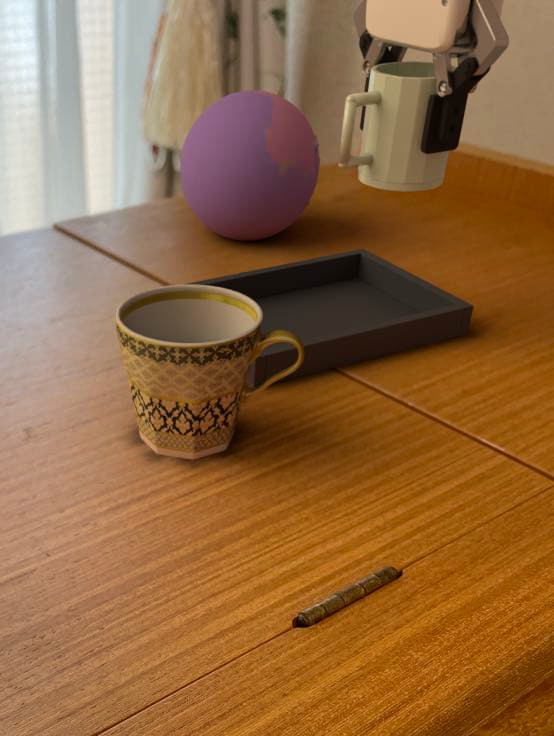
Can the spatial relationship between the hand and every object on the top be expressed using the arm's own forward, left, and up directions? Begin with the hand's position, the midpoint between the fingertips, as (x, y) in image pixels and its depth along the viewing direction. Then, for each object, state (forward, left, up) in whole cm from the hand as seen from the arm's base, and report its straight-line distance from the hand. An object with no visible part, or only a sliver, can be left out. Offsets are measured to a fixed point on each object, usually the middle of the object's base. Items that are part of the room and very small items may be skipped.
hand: (407, 137), depth 69 cm
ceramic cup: (+23, +10, -17) cm, 30 cm away
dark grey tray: (+5, -3, -16) cm, 17 cm away
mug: (+2, 0, -3) cm, 3 cm away
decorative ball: (-2, -27, -17) cm, 32 cm away
